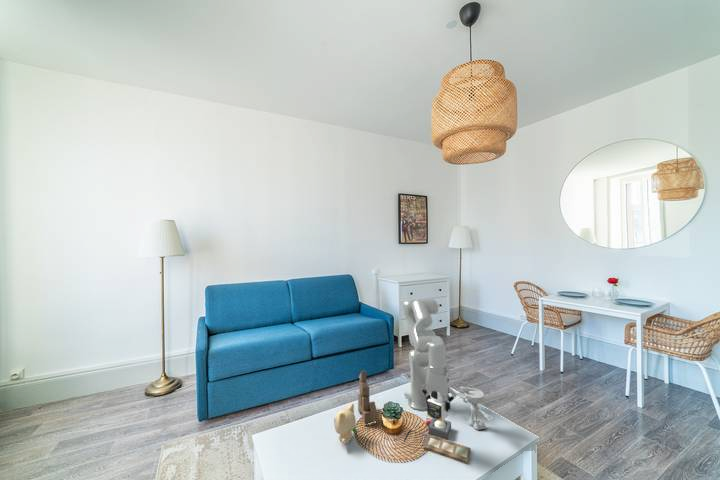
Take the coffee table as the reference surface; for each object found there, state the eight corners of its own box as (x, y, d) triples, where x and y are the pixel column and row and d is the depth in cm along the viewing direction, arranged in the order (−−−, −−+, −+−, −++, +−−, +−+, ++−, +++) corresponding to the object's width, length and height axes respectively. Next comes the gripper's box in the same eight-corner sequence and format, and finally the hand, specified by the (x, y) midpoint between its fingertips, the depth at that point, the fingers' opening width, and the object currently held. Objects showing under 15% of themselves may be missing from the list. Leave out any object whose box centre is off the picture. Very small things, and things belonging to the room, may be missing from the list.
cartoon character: (501, 440, 131) (500, 399, 131) (482, 446, 127) (481, 403, 127) (465, 410, 155) (465, 375, 155) (448, 415, 151) (447, 378, 151)
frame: (400, 442, 131) (400, 441, 131) (408, 428, 140) (408, 428, 140) (423, 450, 125) (423, 449, 125) (430, 435, 135) (430, 435, 135)
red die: (426, 426, 142) (426, 421, 142) (426, 423, 144) (426, 417, 144) (432, 427, 141) (431, 421, 141) (432, 424, 144) (431, 418, 144)
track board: (425, 449, 126) (425, 446, 126) (430, 437, 134) (430, 434, 134) (467, 464, 117) (467, 461, 117) (470, 450, 125) (470, 447, 125)
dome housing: (428, 434, 136) (428, 426, 136) (433, 423, 144) (433, 416, 144) (447, 440, 132) (447, 432, 132) (451, 428, 140) (451, 421, 140)
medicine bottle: (427, 416, 127) (426, 389, 128) (434, 410, 132) (434, 383, 133) (441, 422, 122) (440, 394, 123) (449, 415, 127) (448, 388, 128)
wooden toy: (377, 423, 145) (376, 375, 145) (364, 426, 143) (364, 377, 143) (368, 407, 160) (368, 363, 160) (357, 409, 158) (356, 364, 158)
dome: (433, 432, 137) (433, 422, 137) (436, 426, 142) (435, 415, 142) (444, 436, 134) (444, 425, 134) (446, 429, 139) (446, 419, 139)
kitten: (347, 426, 143) (346, 396, 143) (363, 433, 137) (362, 403, 138) (327, 443, 131) (327, 411, 131) (344, 452, 125) (343, 418, 125)
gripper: (458, 370, 127) (459, 408, 126) (421, 362, 136) (422, 398, 135) (454, 376, 120) (455, 417, 120) (416, 368, 129) (417, 406, 129)
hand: (438, 407), depth 127 cm, fingers closed on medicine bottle, 8 cm apart
